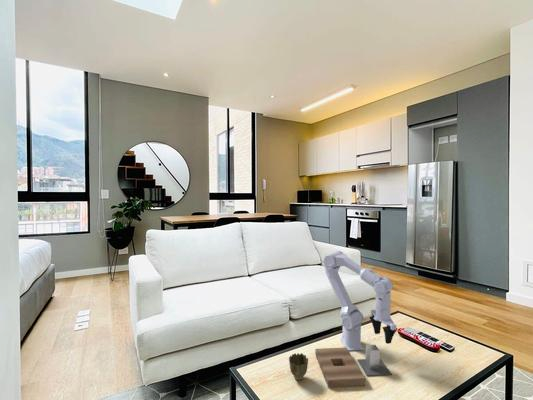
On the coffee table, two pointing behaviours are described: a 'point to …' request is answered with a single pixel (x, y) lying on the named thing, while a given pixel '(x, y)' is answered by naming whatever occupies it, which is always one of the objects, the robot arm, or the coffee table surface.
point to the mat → (378, 372)
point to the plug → (372, 357)
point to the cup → (298, 365)
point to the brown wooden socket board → (339, 368)
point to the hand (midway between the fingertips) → (382, 338)
